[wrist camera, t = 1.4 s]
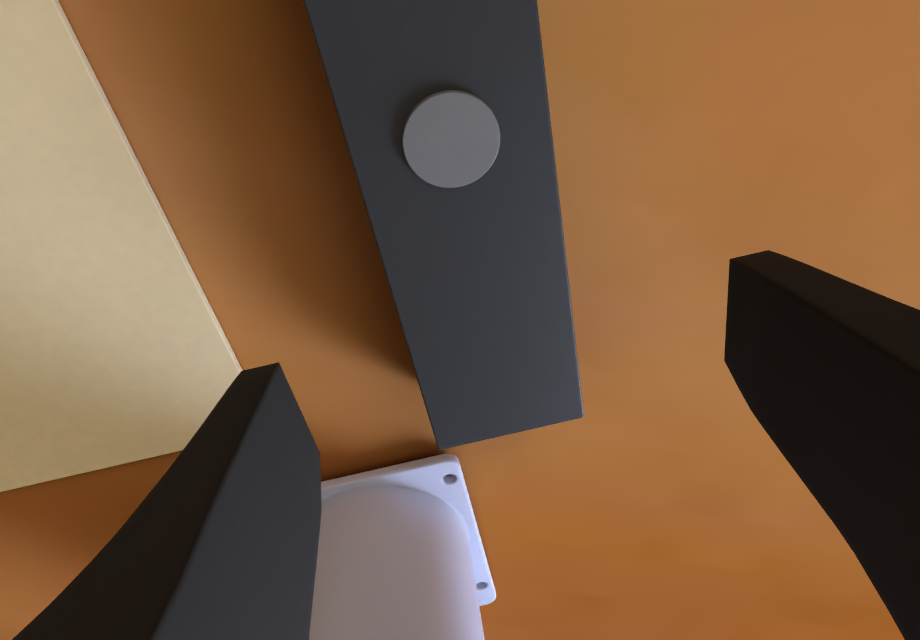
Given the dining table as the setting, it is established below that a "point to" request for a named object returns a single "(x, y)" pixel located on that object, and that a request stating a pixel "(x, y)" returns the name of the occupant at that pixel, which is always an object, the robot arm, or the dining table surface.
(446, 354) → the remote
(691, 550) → the dining table surface
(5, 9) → the placemat
